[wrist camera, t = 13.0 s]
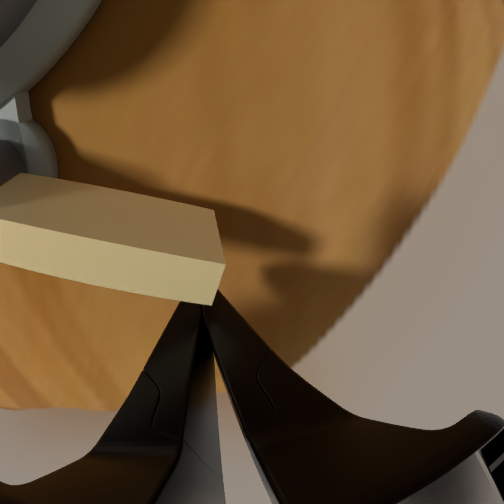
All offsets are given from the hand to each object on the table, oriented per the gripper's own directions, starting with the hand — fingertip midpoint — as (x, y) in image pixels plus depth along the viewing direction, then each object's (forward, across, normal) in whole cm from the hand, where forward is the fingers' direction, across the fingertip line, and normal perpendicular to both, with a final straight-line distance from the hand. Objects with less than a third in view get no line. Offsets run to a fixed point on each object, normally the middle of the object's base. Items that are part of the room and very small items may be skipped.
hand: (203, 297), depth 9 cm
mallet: (+2, +4, -4) cm, 5 cm away
